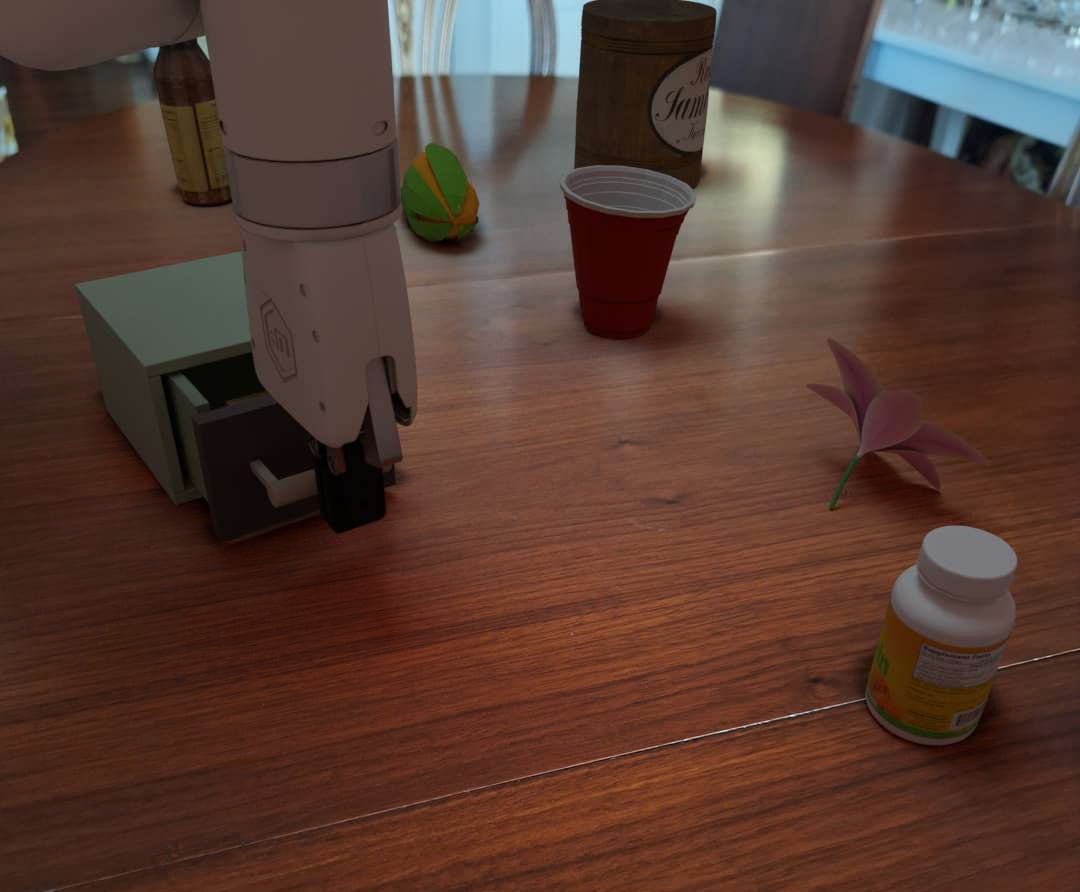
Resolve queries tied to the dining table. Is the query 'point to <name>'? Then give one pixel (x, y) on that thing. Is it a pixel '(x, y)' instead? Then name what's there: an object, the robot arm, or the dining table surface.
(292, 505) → the drawer
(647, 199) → the plastic cup
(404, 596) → the dining table surface
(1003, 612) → the supplement bottle
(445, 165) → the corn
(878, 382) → the lily
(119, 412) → the cabinet
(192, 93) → the sauce bottle
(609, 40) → the wooden container
